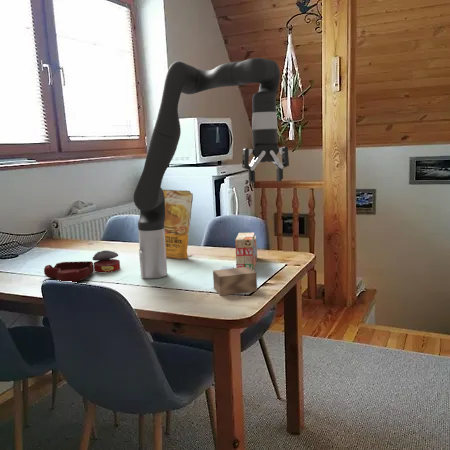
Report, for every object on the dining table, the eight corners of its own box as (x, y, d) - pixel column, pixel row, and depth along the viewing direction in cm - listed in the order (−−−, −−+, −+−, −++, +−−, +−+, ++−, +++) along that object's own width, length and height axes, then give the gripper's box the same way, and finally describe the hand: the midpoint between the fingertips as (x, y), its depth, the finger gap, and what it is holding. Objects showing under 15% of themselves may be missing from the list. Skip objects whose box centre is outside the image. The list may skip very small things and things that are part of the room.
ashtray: (106, 278, 178) (105, 264, 177) (64, 288, 167) (62, 274, 166) (82, 270, 191) (80, 257, 190) (41, 279, 180) (40, 266, 179)
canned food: (95, 283, 187) (81, 261, 187) (110, 274, 197) (96, 252, 196) (116, 272, 183) (102, 249, 182) (130, 262, 192) (116, 241, 191)
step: (220, 295, 152) (219, 276, 151) (213, 288, 159) (213, 270, 158) (257, 290, 155) (256, 272, 154) (248, 284, 162) (248, 266, 161)
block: (216, 274, 162) (222, 266, 172) (216, 285, 163) (223, 277, 173) (228, 274, 161) (234, 266, 171) (228, 286, 162) (234, 277, 172)
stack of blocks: (241, 258, 200) (240, 228, 197) (257, 257, 199) (256, 228, 197) (236, 272, 179) (235, 238, 177) (253, 272, 178) (252, 238, 176)
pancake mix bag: (162, 252, 215) (158, 188, 210) (197, 256, 204) (193, 189, 199) (151, 255, 209) (147, 190, 204) (187, 260, 199) (183, 191, 194)
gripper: (246, 128, 142) (247, 184, 145) (291, 126, 146) (292, 181, 148) (238, 129, 149) (240, 182, 152) (282, 127, 153) (283, 179, 156)
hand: (266, 182), depth 150 cm, fingers open, 8 cm apart
